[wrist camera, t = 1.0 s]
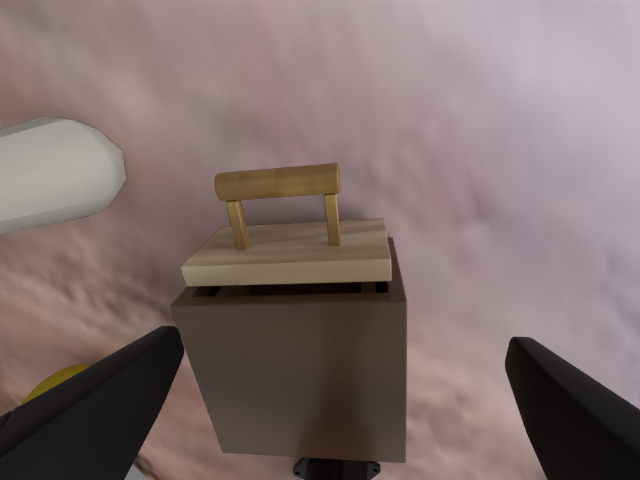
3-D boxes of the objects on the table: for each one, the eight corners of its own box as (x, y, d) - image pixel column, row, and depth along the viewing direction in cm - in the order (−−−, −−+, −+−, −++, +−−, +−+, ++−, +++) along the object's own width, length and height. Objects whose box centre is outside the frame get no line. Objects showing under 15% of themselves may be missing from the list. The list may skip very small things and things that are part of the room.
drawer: (205, 164, 19) (153, 187, 14) (381, 148, 17) (389, 167, 13) (252, 350, 25) (226, 411, 20) (387, 351, 23) (393, 417, 18)
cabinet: (224, 245, 22) (169, 305, 16) (392, 236, 20) (407, 301, 14) (255, 367, 27) (222, 453, 20) (394, 369, 25) (406, 463, 19)
